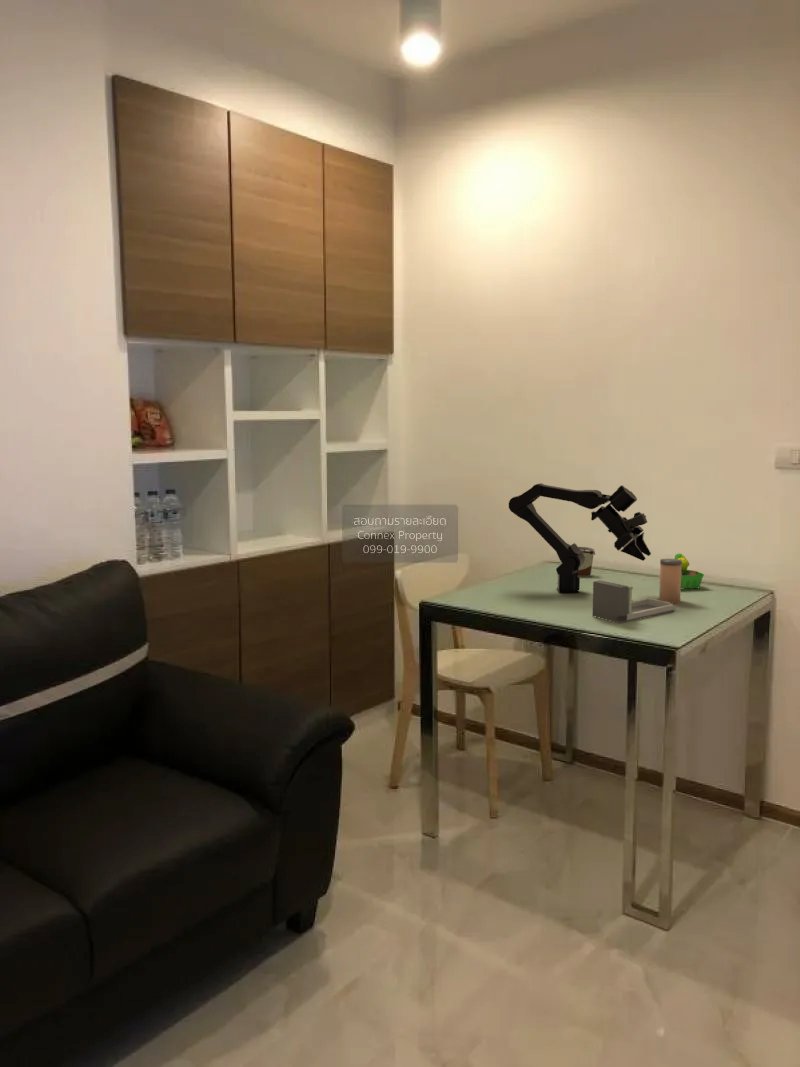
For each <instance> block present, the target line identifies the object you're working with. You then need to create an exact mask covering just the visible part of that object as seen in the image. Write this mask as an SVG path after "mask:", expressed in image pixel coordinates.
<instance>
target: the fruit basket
mask: <svg viewBox="0 0 800 1067" xmlns="http://www.w3.org/2000/svg"><path fill="white" fill-rule="evenodd" d="M674 559H679V560H682V567H681V588H698V587H699V588H700V586H701V584H702V580H703V578H704V576H705V573H702V572H699V571H697V570H693V569H692V570H691V569H688V567H689V566H690V562H689V560H688V559H687V558H686V557H685V555H684V554H682V553H679V552H678V553H676V554H675V556H674ZM699 588H698V589H699Z"/></svg>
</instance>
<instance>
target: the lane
mask: <svg viewBox="0 0 800 1067" xmlns="http://www.w3.org/2000/svg"><path fill="white" fill-rule="evenodd" d="M592 583H593V585H592V586H593V587H592V613H591V614H592V615H591V616H592V617H593V616H596V617H595V618H597V617H600V618H599V619H601V618H603V619H602V620H605V619H607V620H606V621H609V620H611V621H610V622H613V621H614V623H616V622H618V624H622V622H624V623H627V621H628V622H632V621H631V620H633V621H636V619H637V620H641V619H645V618H644V617H646V618H650V617H654V615H655V616H659V615H663V613H664V614H668V613H671V612H674V610H675V604H674V603H670V602H665V601H661V600H659V599H655V598H652V597H651V598H650V597H648V598H642V599H638V600H632V607H631V613H628V614H627V602H628V586H629V585H627V586H625V584H622V585H620V584H621V583H617V584H615V583H616V582H613V583H612V582H611V581H605V580H601V579H600V580H596V581H595V580H594V581H593V582H592ZM649 616H650V617H649ZM640 618H641V619H640Z"/></svg>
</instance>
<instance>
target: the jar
mask: <svg viewBox="0 0 800 1067" xmlns="http://www.w3.org/2000/svg"><path fill="white" fill-rule="evenodd" d="M659 564H660V565H659V568H660V569H659V593H658V594H659V596H658V600H661V601H665V602H670V603H671V604H677V603H676V602H678V603H681V590H682V589H681V567H682V560H679V559H675V558H660V560H659Z"/></svg>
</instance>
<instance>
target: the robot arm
mask: <svg viewBox="0 0 800 1067" xmlns="http://www.w3.org/2000/svg"><path fill="white" fill-rule="evenodd" d="M540 497H543V498H550V499H554V500H559V501H566V502H572V503H574V504H575V505H578V506H580V507H583V508H585V509H588V510H594V509H596V511H591V513H590V514H591V518H590V519H591V521H595V520H597V518H598V519H599V520H600V522H602V524H603V525H604V526H605V527H606V528H607V532H608V533H612V535H614V537H615V538H616V540H615V541H614V545H613V546H614V548H615V549H616V550H617V551H618V552H619V551H620V552H621V553H624V554H627V555H629V556H632V557H634V558H637V560H640V561H645V560H646V557H645V555H646V556H651V554H652V552H651V551H650V549H649V548H648V546H647V543H646V541H645V540H644V535H645V532H644V531H645V530H644V529H643V528H642V527H641V526H643V525H645V524H647V523H648V520H647V515H645V513H644V512H643V513H641V511H638V512H635V513H633V517H630V518H627V517H625V516H621V515H620V513H619V512H623V513H624V512H626V511H627V510H628V509H629V508H630V507H631V506H632V505H633V504H634V503H635V502H637V501H638V498H637V496H636V495H635V494H634V493H633V492H632V491H631V490H630V489H628V488H627V487H625V486H624V485H620V486H618V488H616V491H614V492H613V493H612V494H611V495H610V494H605V493H604V494H603V493H602V492H601V491H600V490H598V489H582V490H581V489H579V490H576V489H571V488H566V487H558V486H555V485H548V484H544V483H541V482H539V483H536V484H534V485H533V486H532V487H530V488H529V489H528V490H526V491H525V492H523V493H521V494H520V495H517V496H513V497H511V498H510V499H509V501H508V509H509V511H510V512H512V513H513V514H514V515H515V516H517V517H518V518H519V519H521V520H523V521H526V522H527V523H528V524H529V525H530V526H531V528H533V529H534V531H536V532H537V533H538V535H539V536H540V537H541V538H542V539H543V540H544V541H545V542H546V543H547V544H548V545H549V546H550V547H551V548H552V549H553V550H554V551H555V553H556V555H557V557H558V559H559V561H560V562H561V564H559V565H558V566H557V567H556V568H555V570H556V574H557V587H556V590H557V592H558V593H560V594H566V593H567V594H569V593H572V594H575V593H576V594H577V593H579V592H580V586H581V585H580V584H581V582H580V580H581V579H580V576H578V573H577V571H578V570H579V568H580V567H581V566H582V565H583V564H584V562H585V556H584V555H583V553H582V552H583V551H582V550H580V549H579V548H578V547H579V546H578V545H577V544H576V542H574V543H572V544H569V543H567V542H566V541H565V540H564V539H563V538H562V536H560V535H559V534H558V532H556V530H554V528H552V526H550V524H549V523H547V521H545V520H544V518H542V516H541V515H540V514H539V513H538V512H537V510H536V507H535V505H534V502H535V501H536V500H538V499H539V498H540ZM607 503H608V504H607ZM605 504H607V505H606V506H603V505H605ZM597 508H598V509H597Z"/></svg>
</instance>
